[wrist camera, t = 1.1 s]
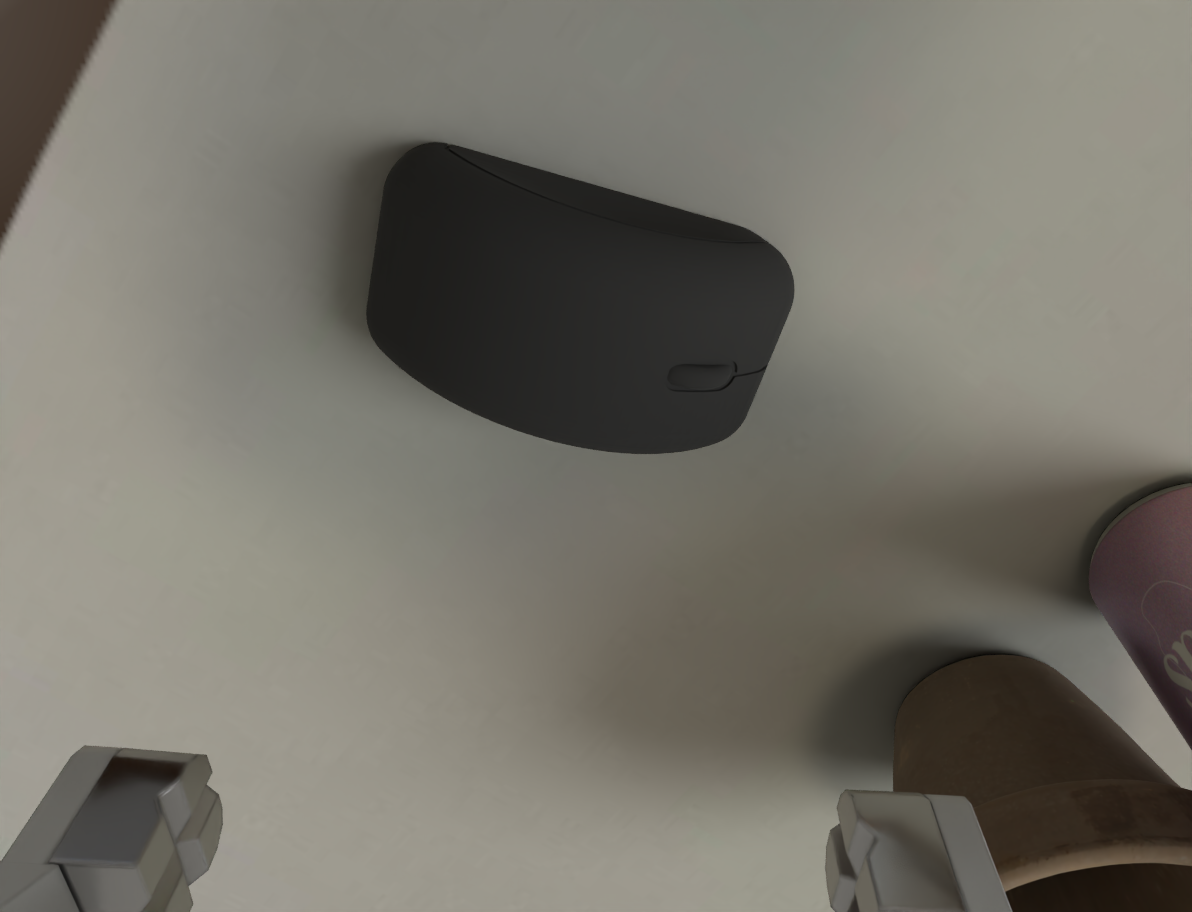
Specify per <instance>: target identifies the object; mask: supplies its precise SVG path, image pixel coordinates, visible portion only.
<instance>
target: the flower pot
mask: <svg viewBox="0 0 1192 912" xmlns="http://www.w3.org/2000/svg"><path fill="white" fill-rule="evenodd" d="M893 792H913V793H921V794H931V795H953V796H964V797H966V799H967V800H968V801H969V802H970V803H971V804H972V807H973V810H974V812H975V815H976V817H977V820H978V823H979V825H980V828H981V831H982V833H983V836H984V838H985V841H986V844H987V846H988V849H989V851H990V854H991V857H992V859H993V862H994V865H995V867H996V870H997V872H998V875H999V878H1000V880H1001V883H1002V886H1003V888H1004V891H1005V893H1006V896H1007V899H1008V901H1009V904H1010V906H1011V909H1012V912H1192V791H1191V790H1188V789H1184V788H1181V787H1180V786H1179V785H1178V784H1176V783H1175V782H1174V781H1173V780H1172V779H1171V778H1170V777H1169V776H1168V775H1167V774H1166V773H1165V772H1164V771H1163V770H1162V769H1161V768H1160V767H1159V766H1158V765H1157V764H1156V763H1155V762H1154V761H1153V760H1152V759H1151V758H1150V757H1149V756H1148V755H1147V754H1146V753H1145V752H1144V751H1143V750H1142V749H1141V748H1140V747H1139V746H1138V745H1137V744H1136V742H1135V741H1134V740H1133V739H1132V738H1131V737H1130V736H1129V735H1128V734H1127V733H1126V732H1125V731H1124V730H1123V729H1122V728H1121V727H1120V726H1118V725H1117V724H1116V723H1115V722H1114V721H1113V720H1112V719H1111V718H1110V717H1109V716H1108V715H1107V714H1106V713H1105V712H1103V711H1102V710H1101V709H1100V708H1099V707H1098V706H1097V705H1096V704H1095V703H1094V702H1093V701H1092V700H1090V699H1089V698H1088V697H1087V696H1086V695H1085V694H1084V693H1083V692H1082V691H1080V690H1079V689H1078V688H1077V687H1076V686H1075V685H1074V684H1073V683H1071V682H1070V681H1069V680H1068V679H1067V678H1066V677H1064V676H1063V675H1062V674H1060V673H1059V672H1058V671H1057V670H1055V669H1054V668H1052V667H1050V666H1049V665H1047V664H1045V663H1042V662H1040V661H1037V660H1034V659H1030V658H1027V657H1021V656H1015V655H984V656H979V657H973V658H969V659H964V660H961V661H958V662H956V663H953V664H950V665H948V666H946V667H944V668H942V669H940V670H938V671H936V672H934V673H933V674H931V675H929V676H928V677H926V678H925V679H924V680H923V681H921V682H920V683H919V684H918V685H917V686H916V687H915V688H914V689H913V690H912V691H911V692H910V693H909V694H908V696H907V697H906V698H905V700H904V701H903V703H902V705H901V707H900V709H899V711H898V714H897V718H896V723H895V734H894V760H893Z"/></svg>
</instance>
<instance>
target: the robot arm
mask: <svg viewBox="0 0 1192 912" xmlns="http://www.w3.org/2000/svg"><path fill="white" fill-rule="evenodd" d="M211 774H212V769H211V766H210V763H209V760H208V757H207V755H203V754H191V753H179V752H166V751H154V750H142V749H130V748H118V747H102V746H86V745H85V746H83V747H82V748H81V749H80V750H78V751H77V752H76V753H75V754H73V755H72V756H71V757H70V759H69V760H68V762H67V763H66V765H65V766H64V768H63V769H62V771H61V772H60V774H59V775H58V777H57V778H56V780H55V781H54V783H53V784H52V786H51V787H50V789H49V790H48V792H47V793H46V795H45V796H44V798H43V799H42V801H41V802H40V804H39V805H38V807H37V808H36V810H35V811H34V813H33V814H32V816H31V817H30V819H29V820H28V822H27V823H26V825H25V826H24V828H23V829H22V831H21V832H20V834H19V835H18V837H17V838H16V840H15V841H14V843H13V844H12V846H11V847H10V849H9V850H8V852H7V853H6V855H5V856H4V858H3V859H2V861H0V912H190V910H191V908H192V906H193V901H192V897H191V893H190V890H189V885H191V884H192V883H193V882H194V881H196V880H197V879H198V878H199V877H200V876H202V875H203V874H204V873H205V872H207V871H208V870H209V867H210V865H211V863H212V860H213V858H214V855H215V853H216V851H217V848H218V844H219V839H220V834H221V830H222V825H223V815H222V804H221V800H220V796H219V794H218V793H216V792H215V791H214V790H213V789H211V788H210V787H209V786H208V785H206V784H207V782H208V780H209V778H210V776H211ZM837 812H838V816H839V821H840V824H838V825H837V826H835V827H834V828H832V829H831V830H830V833H829V837H828V842H827V846H826V863H825V871H826V881H827V889H828V895H829V900H830V906H831V908H832V909H833V910H834V911H835V912H1012V909H1011V906H1010V904H1009V901H1008V899H1007V896H1006V893H1005V891H1004V888H1003V886H1002V883H1001V880H1000V878H999V875H998V872H997V870H996V867H995V865H994V862H993V859H992V857H991V854H990V851H989V849H988V846H987V844H986V841H985V838H984V836H983V833H982V831H981V828H980V825H979V823H978V820H977V817H976V815H975V812H974V810H973V807H972V804H971V803H970V802H969V801H968V800H967V799H966V797H964V796H953V795H931V794H921V793H913V792H889V791H865V790H845V791H844V792H843V793H842V794H841V795H840V798H839V802H838V805H837Z"/></svg>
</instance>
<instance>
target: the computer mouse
mask: <svg viewBox="0 0 1192 912" xmlns="http://www.w3.org/2000/svg"><path fill="white" fill-rule="evenodd" d="M793 299H794V280H793V276H792V272H791V269H790V267H789V265H788V263H787V261H786V260H785V258H784V257H783V255H782V254H781V253H780V252H779V251H778V250H777V249H776V248H774V247H773V246H772V245H771V244H769V243H768V242H767V241H765V240H764V239H763V238H761V237H760V236H758V235H757V234H755V233H753V232H751V231H750V230H748V229H745V228H743V227H740V226H737V225H733V224H729V223H726V222H722V221H719V220H715V219H712V218H708V217H705V216H701V215H698V214H694V213H691V212H687V211H684V210H680V209H677V208H673V207H670V206H666V205H663V204H659V203H656V202H652V201H649V200H645V199H642V198H638V197H635V196H631V195H627V194H624V193H620V192H617V191H613V190H610V189H606V188H603V187H599V186H596V185H592V184H589V183H585V182H582V181H578V180H575V179H571V178H568V177H564V176H561V175H557V174H554V173H550V172H547V171H543V170H540V169H536V168H532V167H529V166H525V165H522V164H518V163H515V162H511V161H508V160H504V159H501V158H497V157H494V156H490V155H487V154H483V153H480V152H476V151H473V150H469V149H466V148H462V147H459V146H455V145H452V146H451V147H448V146H447V143H428V144H423V145H420V146H417V147H415V148H413V149H412V150H410V151H408V152H407V153H406V154H405V155H403V156H402V158H401V159H400V160H399V161H398V162H397V163H396V164H395V165H394V166H393V168H392V169H391V171H390V173H389V175H388V177H387V179H386V182H385V185H384V190H383V197H382V204H381V211H380V218H379V225H378V232H377V239H376V246H375V253H374V260H373V267H372V274H371V281H370V288H369V296H368V303H367V312H366V315H367V324H368V328H369V331H370V333H371V336H372V338H373V340H374V341H375V343H376V344H377V346H378V347H379V348H380V349H381V350H382V351H383V352H384V353H385V354H386V355H387V356H388V357H389V358H390V359H391V360H392V361H393V362H394V363H395V364H396V365H398V366H399V367H400V368H401V369H402V370H404V371H405V372H406V373H407V374H409V375H410V376H412V377H413V378H414V379H416V380H417V381H418V382H420V383H421V384H423V385H424V386H426V387H427V388H429V389H430V390H432V391H434V392H435V393H437V394H439V395H440V396H442V397H444V398H445V399H447V400H449V401H451V402H453V403H455V404H457V405H458V406H460V407H462V408H464V409H466V410H469V411H471V412H473V413H475V414H477V415H479V416H482V417H484V418H486V419H489V420H491V421H493V422H496V423H498V424H501V425H504V426H506V427H509V428H512V429H514V430H517V431H520V432H523V433H526V434H530V435H533V436H536V437H539V438H543V439H547V440H550V441H554V442H558V443H562V444H566V445H571V446H576V447H581V448H587V449H593V450H600V451H607V452H617V453H631V454H661V453H673V452H682V451H688V450H693V449H698V448H702V447H705V446H709V445H712V444H715V443H718V442H720V441H722V440H724V439H726V438H728V437H729V436H731V435H732V434H733V433H734V432H735V431H736V430H737V429H738V428H739V427H740V426H741V424H742V423H743V421H744V420H745V418H746V416H747V413H748V411H749V408H750V406H751V404H752V401H753V399H754V396H755V394H756V392H757V389H758V387H759V384H760V382H761V380H762V377H763V375H764V372H765V370H766V367H767V364H768V362H769V360H770V358H771V355H772V353H773V351H774V348H775V346H776V343H777V341H778V338H779V336H780V334H781V331H782V329H783V326H784V324H785V321H786V319H787V317H788V314H789V312H790V309H791V306H792V303H793Z"/></svg>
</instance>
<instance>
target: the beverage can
mask: <svg viewBox="0 0 1192 912" xmlns="http://www.w3.org/2000/svg"><path fill="white" fill-rule="evenodd" d="M1089 588H1090V592H1091V595H1092V598H1093V600H1094V602H1095V604H1096V605H1097V607H1098V608H1099V610H1100V612H1101V613H1102V615H1103V616H1104V618H1105V619H1106V621H1107V622H1108V624H1109V625H1110V627H1111V628H1112V630H1113V631H1114V633H1115V634H1116V636H1117V637H1118V639H1119V640H1120V642H1121V643H1122V645H1123V646H1124V648H1125V649H1126V651H1127V653H1128V654H1129V656H1130V657H1131V659H1132V660H1133V662H1134V663H1135V665H1136V666H1137V668H1138V669H1139V671H1140V672H1141V674H1142V675H1143V677H1144V678H1145V680H1146V681H1147V683H1148V684H1149V686H1150V687H1151V689H1152V690H1153V692H1154V693H1155V695H1156V697H1157V698H1158V700H1159V701H1160V703H1161V704H1162V706H1163V707H1164V709H1165V710H1166V712H1167V713H1168V715H1169V716H1170V718H1171V719H1172V721H1173V722H1174V724H1175V725H1176V727H1177V728H1178V730H1179V731H1180V733H1181V734H1182V736H1183V737H1184V739H1185V741H1186V742H1187V744H1188V745H1189V747H1190V748H1191V750H1192V483H1188V484H1182V485H1177V486H1173V487H1169V488H1166V489H1163V490H1160V491H1158V492H1155V493H1153V494H1151V495H1148V496H1146V497H1144V498H1143V499H1141V500H1139V501H1137V502H1136V503H1134V504H1133V505H1131V506H1130V507H1128V508H1127V509H1126V510H1124V511H1123V512H1122V513H1121V514H1119V515H1118V516H1117V517H1116V518H1115V519H1114V520H1113V521H1112V522H1111V523H1110V524H1109V526H1108V527H1107V528H1106V529H1105V531H1104V532H1103V534H1102V535H1101V537H1100V539H1099V540H1098V542H1097V545H1096V547H1095V549H1094V552H1093V556H1092V560H1091V565H1090V571H1089Z"/></svg>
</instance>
